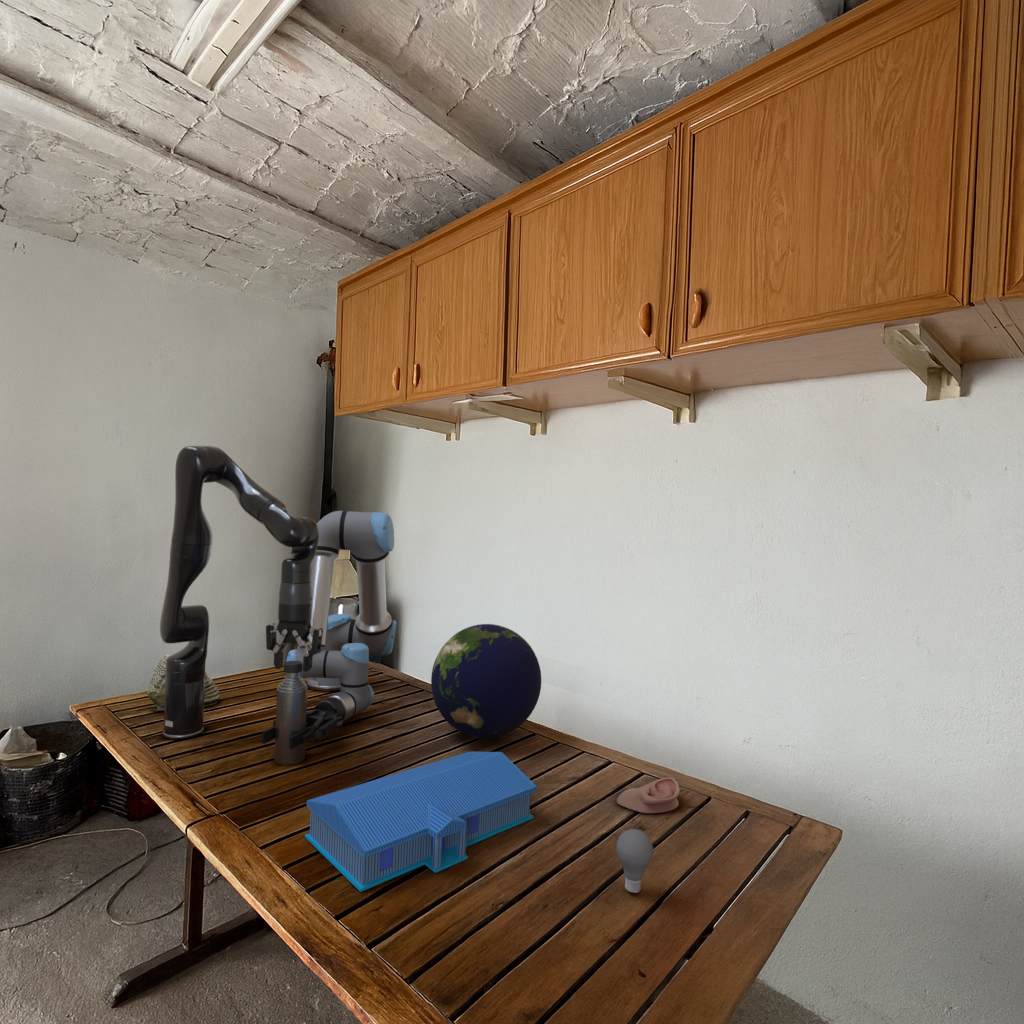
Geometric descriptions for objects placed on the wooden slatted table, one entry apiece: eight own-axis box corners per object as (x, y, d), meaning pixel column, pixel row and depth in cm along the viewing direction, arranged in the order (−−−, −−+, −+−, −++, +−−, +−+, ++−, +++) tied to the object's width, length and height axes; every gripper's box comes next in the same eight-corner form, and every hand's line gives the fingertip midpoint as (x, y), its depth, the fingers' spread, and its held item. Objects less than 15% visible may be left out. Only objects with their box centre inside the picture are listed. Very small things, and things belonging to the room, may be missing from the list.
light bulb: (610, 879, 108) (613, 822, 108) (644, 879, 109) (647, 822, 109) (619, 902, 102) (622, 840, 102) (655, 901, 103) (658, 840, 103)
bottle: (288, 767, 147) (292, 671, 147) (267, 760, 151) (271, 666, 150) (311, 757, 153) (314, 665, 153) (290, 750, 157) (294, 660, 156)
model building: (370, 901, 100) (373, 839, 100) (303, 836, 118) (305, 782, 118) (545, 824, 126) (547, 774, 126) (468, 780, 144) (470, 736, 144)
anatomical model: (616, 790, 133) (618, 768, 145) (615, 809, 133) (618, 785, 145) (681, 799, 131) (678, 776, 142) (680, 818, 131) (677, 793, 142)
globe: (407, 742, 164) (412, 628, 164) (459, 709, 192) (464, 611, 192) (514, 765, 153) (519, 642, 153) (553, 726, 181) (558, 622, 180)
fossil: (144, 707, 182) (145, 655, 182) (212, 696, 194) (213, 647, 194) (151, 716, 175) (153, 662, 175) (221, 703, 188) (223, 653, 188)
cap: (281, 673, 149) (281, 664, 149) (286, 668, 154) (287, 660, 154) (299, 673, 150) (299, 665, 150) (304, 669, 154) (304, 660, 154)
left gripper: (259, 600, 149) (256, 670, 149) (314, 605, 146) (311, 676, 146) (277, 596, 156) (275, 663, 157) (330, 600, 153) (328, 668, 154)
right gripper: (366, 730, 166) (312, 763, 144) (301, 719, 172) (241, 749, 150) (367, 701, 166) (313, 731, 144) (302, 691, 172) (242, 718, 150)
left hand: (292, 669), depth 152 cm, fingers open, 6 cm apart
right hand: (276, 740), depth 147 cm, fingers closed on bottle, 7 cm apart
